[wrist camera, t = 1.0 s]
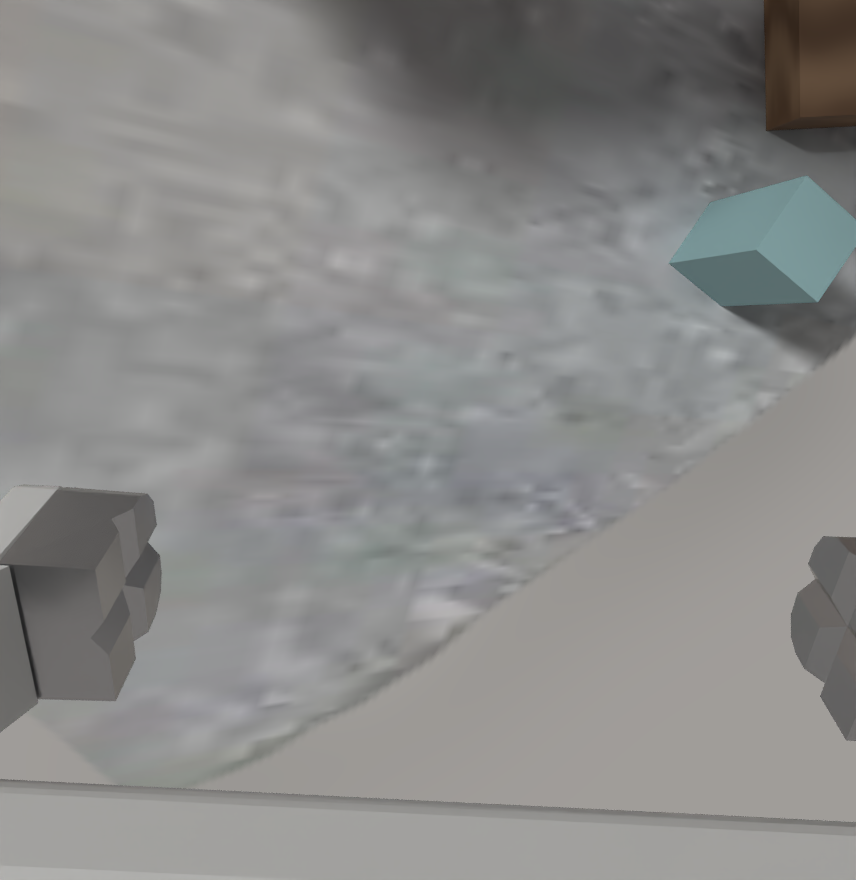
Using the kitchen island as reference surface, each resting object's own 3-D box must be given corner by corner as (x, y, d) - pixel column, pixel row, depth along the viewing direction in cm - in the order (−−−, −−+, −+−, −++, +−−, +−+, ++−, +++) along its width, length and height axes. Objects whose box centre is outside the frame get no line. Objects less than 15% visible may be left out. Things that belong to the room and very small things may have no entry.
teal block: (668, 263, 54) (756, 249, 44) (710, 202, 54) (807, 175, 44) (721, 306, 55) (817, 302, 46) (762, 246, 55) (867, 229, 45)
